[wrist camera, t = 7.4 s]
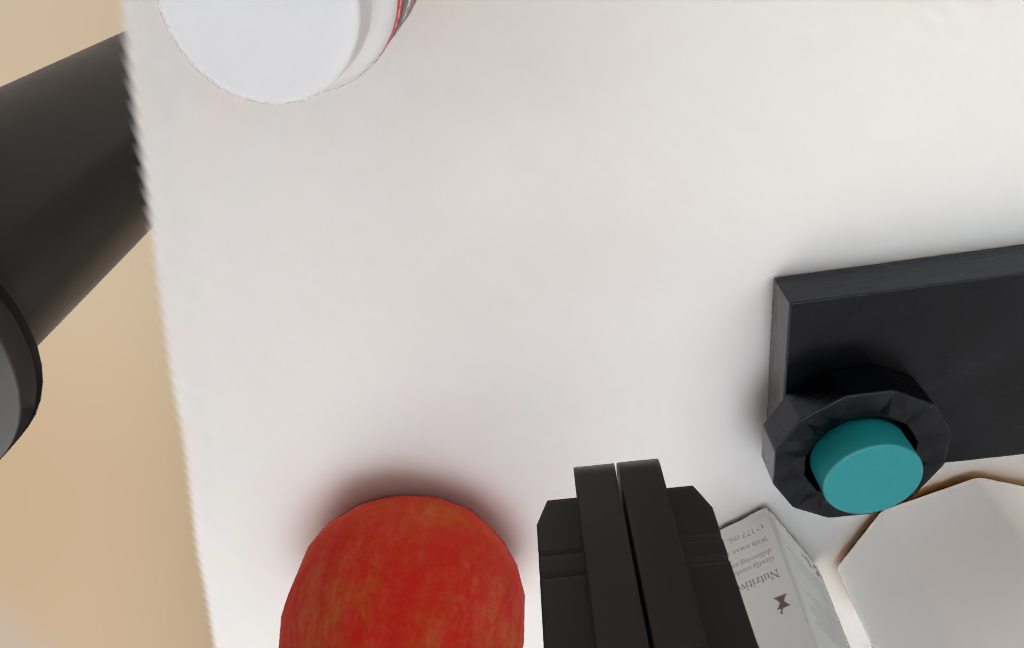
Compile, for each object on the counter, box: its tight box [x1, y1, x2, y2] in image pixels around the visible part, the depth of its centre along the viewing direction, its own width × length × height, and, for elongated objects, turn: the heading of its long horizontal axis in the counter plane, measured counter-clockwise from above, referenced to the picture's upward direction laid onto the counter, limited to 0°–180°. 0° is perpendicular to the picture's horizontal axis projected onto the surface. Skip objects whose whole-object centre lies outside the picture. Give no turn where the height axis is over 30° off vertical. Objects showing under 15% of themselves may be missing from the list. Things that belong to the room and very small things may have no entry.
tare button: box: [810, 418, 923, 514], centre depth 27 cm, size 4×4×2 cm
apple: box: [279, 495, 525, 648], centre depth 31 cm, size 11×11×11 cm
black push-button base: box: [762, 245, 1024, 518], centre depth 28 cm, size 13×10×4 cm
